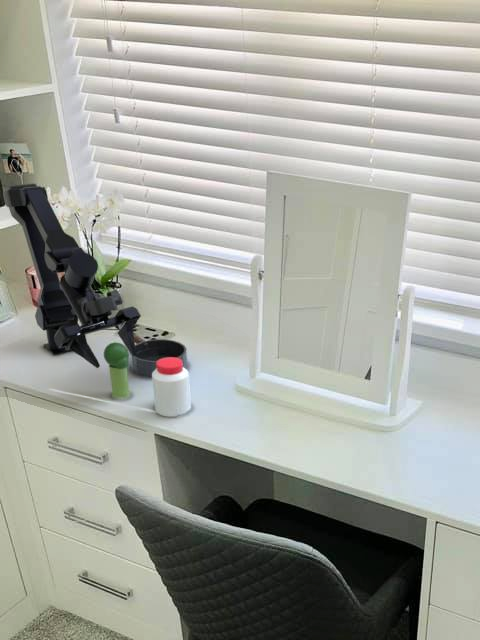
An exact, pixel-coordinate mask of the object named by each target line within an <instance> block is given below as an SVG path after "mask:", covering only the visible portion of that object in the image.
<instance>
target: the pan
mask: <svg viewBox="0 0 480 640" xmlns="http://www.w3.org/2000/svg"><path fill="white" fill-rule="evenodd" d="M145 343H147V344H148V346H147V347H146V348H145V347H144V344H145ZM135 348H136V355H135V356H133V355H132V354H131V353H130V352H129V359H130V367H131V369H132V372H134V373H135V374H136V375H139V376H140V377H141V376H142V377H145V378H151V379H152V372H153V371H154V370H155V369H156V368H157V366H156V362H157V361H158V360H159V359H162V358H166V357H175V358H179V359H181V360H182V361H183V367H184V368H185V369H187V368H188V364H189V363H188V362H189V361H188V351H187V349H188V348H187V347H186V345H184V344H183V343H181V342H179V341H176V340H172V339H167V338H166V339H165V338H164V339H163V338H162V339H160V338H158V339H147V340H145V341H143V342H140V343H138V344H136V343H135Z"/></svg>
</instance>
